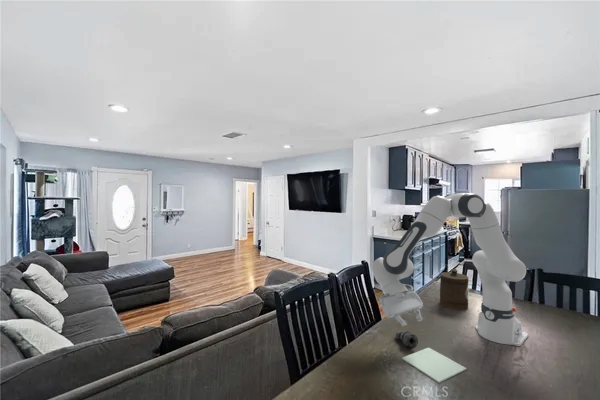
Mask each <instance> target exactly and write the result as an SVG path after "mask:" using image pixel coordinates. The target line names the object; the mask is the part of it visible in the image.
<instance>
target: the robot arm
mask: <svg viewBox="0 0 600 400" xmlns="http://www.w3.org/2000/svg"><path fill="white" fill-rule="evenodd" d="M449 217H456V218H467V219H468V221H469V226H470V228H471V232H472V235H473V239H474V241H475V243H476V245H477V246H478V247H479V248H480V250H477V251H475V252H474V254H473V255H472V258H471V259H472V260H471V261H472V264H473V266H474V267H475V269H476V270H477V273H478V277H479V279H480V282H481V288H482V289H481V292H482V298H481V299H482V302H481V304H480V305H481V306H480V310H481V311H480V312H479V313H478V316H477V317H478V319H477V325H475V326H474V329H475V330H476V331H477V333H478V335H479V336H481V337H482V338H484V339H486V340H487V341H491V342H494V343H496V344H502V345H509V346H510V345H512V346H517V347H522V345H523V344H524V343H525V341H526V340H527V338H528V337H529V333H527V332H525V331H524V330H522V329H523V328H522V321H520V320H519V319H517V317H515V313H516V312H517V307H514V306H513V305H512V304H513V293H512V290H511V288H510V287H509V286H508V284H507V281H508V282H515V283H516V282H520V281H522V280H523V279H524V278H525V277H526V274H527V267H526V264H525V262H523V261H522V260H520V259H519V258H518V257H517V256H516V255H515V253H514V252H513V250H512V249H511V247H510V246H509V243H507V241H506V239H505V237H504V235H503V232H502V229H501V226H500V222H499V219H498V217H497V214H496V213H495V211H494V208H493V207H492V205H491V204H490V203H489V202H487V201H484V199H483V198H482V197H481V196H480V195H478V194H476V193H473V192H469V193H468V192H460V193H459V192H457V193H454V194H453V193H452V194H451V193H450V194H447V195H444V196H441V195H435V196H432V197H431V198H430V199H429V200H428V201H427V202H426V203H425V205H424V206H423V207H422V209H421V210H420V212H419V213H418V214H417V216H416V218H415V220H414V222H413V223H412V224H411V225H410V227H409V228H408V229H407V230H406V232H405V233H404V234H403V235H402V237H401V238H400V240H399V241H398V243H396V245H395V246H394V247H393V248H391V249H390V250H388V251H387V252H385V255H384V256H383V257H381V256H380V257H378V258H376V259H375V260H374V261H373V262H372V264H371V266H370V267H371V272H372V275H373V277H374V279H375V280H376V282H377V283H378V285H379V286H380V287H381V291H382V292H383V294H382V295H379V297H378V301H379V303H380V305H381V308H382V310H383V313H384V315H385V316H386V317H387V318H388V319H391V318H395V320H396V321H397V322H398V323H400V324H401V327H406V326H407V325H408V322H407V321H406V319H403V318H402V315H405V314H408V313H411V312H412V313H414V314H415V315H416V317H415V319H416V320H417V321H418V322H421V321H423V319H424V318H423V317H422V315H421V309H422V308H423V307H424V302H423V300H422V299H421V297H420V296H419V295H418V294H417V292H416V291H414V287H413V285H410V284H405V283H401V281H400V280H403V279H406V278H408V277H410V276H411V275H412V274H413V273H414V270H415V266H414V263H413V262H412V260H411V259H410V258H409V256H410V254H411V253H412V252H413V250H414V249H415V248H416V246H417V245H418V243H419V242H420V241H421V240H422V239H425V238H431V237H434V236H436V234H438V233H439V232H440V231H441V229H442V227H443V226H444V224H445V223H446V221H447V219H448V218H449Z"/></svg>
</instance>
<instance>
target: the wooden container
mask: <svg viewBox="0 0 600 400" xmlns="http://www.w3.org/2000/svg"><path fill="white" fill-rule="evenodd" d="M439 282H440V287H439V304H440V305H441V306H442V307H444V308H447V309H450V310H453V311H466V310H468V309H469V276H468V275H466V274H464V273H459V272H458V270H457V269H456V268H452V269H450V271H447V272H445V271H444V272H441V273H440V281H439Z"/></svg>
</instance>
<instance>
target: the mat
mask: <svg viewBox="0 0 600 400" xmlns="http://www.w3.org/2000/svg"><path fill="white" fill-rule="evenodd" d="M401 359H402V360H403V361H405V362H406V363H407V364H409V365H411V366H412V367H414V368H415V369H417V370H418V371H420V372H422V373H423V374H424V375H426V376H427V377H429V378H431V379H432V380H434V381H435V382H436V383H438V384H440V383H443V382H444V381H446V380H448V379H450V378H452V377H454V376H456V375H458V374H460V373H462V372H464V371H466V370H467V367H465V366H463V365H461V364H460V363H458V362H456V361H454V360H452V359H451V358H449V357H447V356H445V355H443V354H442V353H440V352H437V351H436V350H434V349H432V348H430V347H426V348H424V349H420V350H418V351H416V352H413V353H411V354H408V355H406V356H403V357H402V358H401Z"/></svg>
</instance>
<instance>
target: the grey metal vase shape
mask: <svg viewBox="0 0 600 400" xmlns="http://www.w3.org/2000/svg"><path fill="white" fill-rule="evenodd" d="M395 338H396V339H398V340H399V341H401V342H402V344H403V345H404V347H405V346H406V347H409V348H412V349H414V348H416V347H417V346H418V344H419V339H418V336H417V335H415V334H413V333H412V332H410V331H405V332H402V331H396V333H395Z"/></svg>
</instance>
